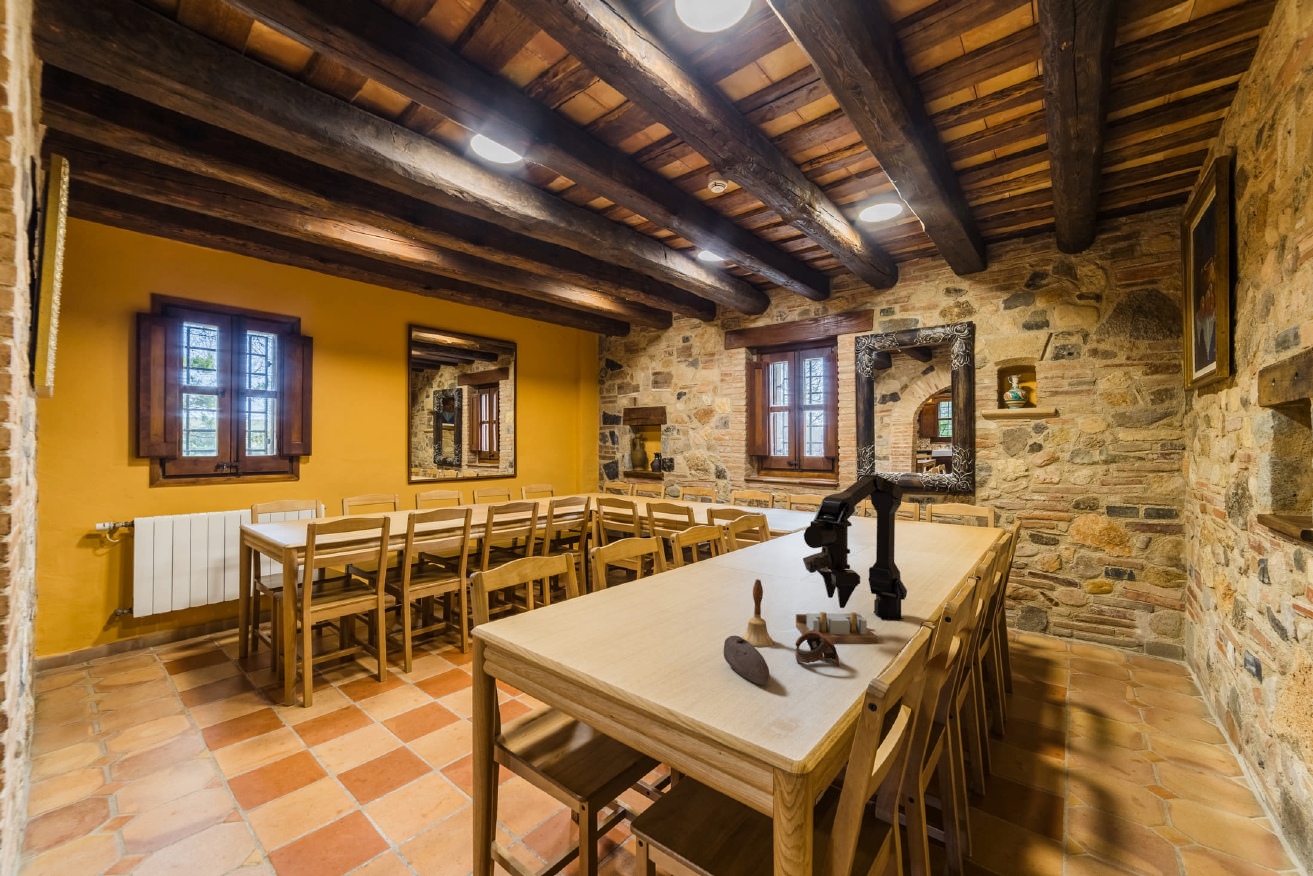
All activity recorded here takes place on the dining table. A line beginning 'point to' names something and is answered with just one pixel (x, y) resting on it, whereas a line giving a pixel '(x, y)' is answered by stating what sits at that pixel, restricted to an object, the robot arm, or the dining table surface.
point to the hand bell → (757, 621)
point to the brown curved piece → (815, 648)
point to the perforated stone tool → (746, 660)
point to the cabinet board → (837, 638)
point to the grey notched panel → (836, 623)
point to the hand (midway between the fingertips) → (835, 602)
